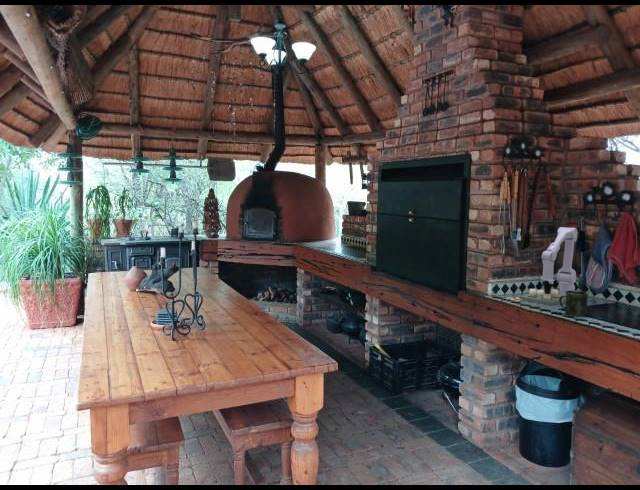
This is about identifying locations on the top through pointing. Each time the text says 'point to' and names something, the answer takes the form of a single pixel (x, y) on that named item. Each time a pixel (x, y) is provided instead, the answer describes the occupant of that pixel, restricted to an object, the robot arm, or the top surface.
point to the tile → (515, 298)
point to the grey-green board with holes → (540, 299)
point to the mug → (575, 302)
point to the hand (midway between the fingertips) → (547, 293)
